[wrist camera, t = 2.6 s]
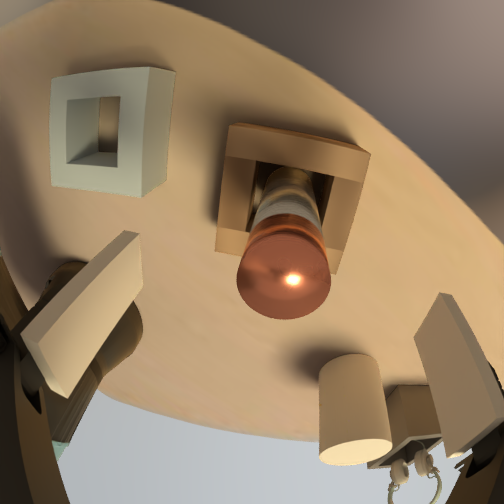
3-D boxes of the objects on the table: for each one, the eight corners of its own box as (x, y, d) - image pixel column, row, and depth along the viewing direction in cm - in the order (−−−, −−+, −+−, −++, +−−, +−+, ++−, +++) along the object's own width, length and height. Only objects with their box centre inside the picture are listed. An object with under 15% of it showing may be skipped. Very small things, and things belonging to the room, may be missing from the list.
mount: (225, 230, 27) (214, 251, 24) (239, 122, 22) (228, 125, 19) (330, 251, 27) (335, 274, 23) (358, 146, 22) (371, 154, 18)
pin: (262, 206, 26) (231, 310, 13) (269, 162, 24) (242, 232, 11) (306, 215, 25) (316, 325, 13) (316, 171, 23) (342, 252, 11)
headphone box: (363, 424, 41) (367, 469, 33) (398, 385, 35) (408, 436, 27) (403, 424, 41) (409, 465, 33) (440, 385, 35) (453, 431, 27)
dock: (82, 171, 26) (51, 186, 22) (85, 77, 21) (51, 78, 17) (166, 180, 25) (141, 197, 21) (176, 71, 21) (149, 66, 16)
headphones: (418, 391, 36) (440, 505, 18) (426, 399, 37) (447, 504, 19) (374, 413, 39) (383, 522, 22) (384, 420, 40) (394, 522, 23)
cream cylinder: (306, 377, 36) (303, 458, 25) (350, 344, 32) (361, 433, 22) (347, 396, 37) (351, 468, 27) (390, 367, 34) (405, 445, 23)
